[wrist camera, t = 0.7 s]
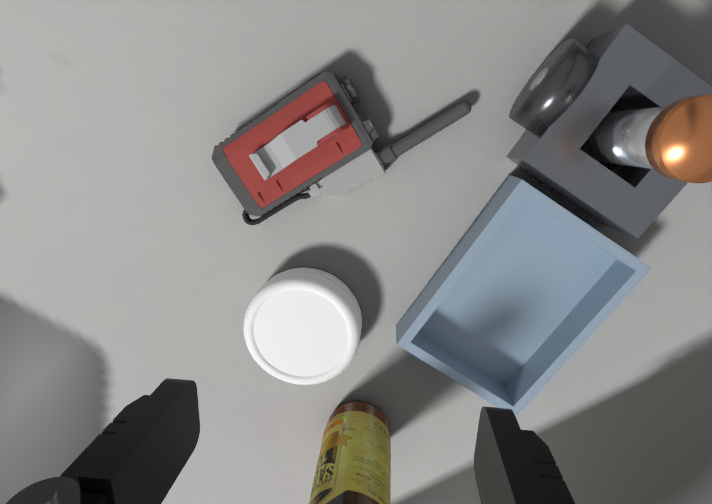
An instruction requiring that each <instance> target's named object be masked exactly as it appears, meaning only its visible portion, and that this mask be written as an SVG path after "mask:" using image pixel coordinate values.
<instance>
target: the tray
mask: <svg viewBox="0 0 712 504" xmlns="http://www.w3.org/2000/svg"><path fill="white" fill-rule="evenodd" d="M651 269H652V268H651V267H650V266H648V265H647V264H645V263H644V262H642V261H641V260H640V259H638V258H637V257H635V256H634V255H632V254H631V253H629V252H628V251H626V250H625V249H623V248H622V247H620V246H619V245H618V244H616V243H615V242H613V241H612V240H610V239H609V238H607V237H606V236H604V235H603V234H601V233H600V232H598V231H597V230H596V229H594V228H593V227H591V226H590V225H588V224H587V223H585V222H584V221H582V220H581V219H579V218H578V217H576V216H575V215H574V214H572V213H571V212H569V211H568V210H566V209H565V208H563V207H562V206H560V205H559V204H557V203H556V202H554V201H553V200H552V199H550V198H549V197H547V196H546V195H544V194H543V193H541V192H540V191H538V190H537V189H535V188H534V187H532V186H531V185H529V184H528V183H527V182H525V181H524V180H522V179H520V178H517V177H514V176H511V175H508V176H507V178H506V179H505V180H504V182H503V183H502V184H501V186H500V187H499V189H498V190H497V191H496V193H495V194H494V195H493V197H492V198H491V199H490V201H489V202H488V203H487V205H486V206H485V207H484V209H483V210H482V211H481V213H480V214H479V215H478V217H477V218H476V219H475V221H474V222H473V223H472V225H471V226H470V227H469V229H468V230H467V231H466V233H465V234H464V235H463V237H462V238H461V239H460V241H459V242H458V243H457V245H456V246H455V247H454V249H453V250H452V251H451V253H450V254H449V256H448V257H447V258H446V260H445V261H444V262H443V264H442V265H441V266H440V268H439V269H438V270H437V272H436V273H435V274H434V276H433V277H432V278H431V280H430V281H429V282H428V284H427V285H426V286H425V288H424V289H423V290H422V292H421V293H420V294H419V296H418V297H417V298H416V300H415V301H414V302H413V304H412V305H411V306H410V308H409V309H408V310H407V312H406V313H405V314H404V316H403V317H402V318H401V320H400V321H399V322H398V324H397V325H396V340H397V345H398V346H400V347H402V348H403V349H405V350H406V351H408V352H410V353H411V354H413V355H414V356H416V357H418V358H419V359H421V360H422V361H424V362H426V363H427V364H429V365H431V366H432V367H434V368H435V369H437V370H439V371H440V372H442V373H443V374H445V375H447V376H448V377H450V378H451V379H453V380H455V381H456V382H458V383H459V384H461V385H463V386H464V387H466V388H468V389H469V390H471V391H472V392H474V393H476V394H477V395H479V396H480V397H482V398H484V399H485V400H487V401H488V402H490V403H492V404H493V405H495V406H496V407H498V408H505V409H512V411H513V412H514V415H515V417H516V416H517V415H518V414H519V413H520V412H521V411H522V410H523V409H524V408H525V407H526V406H527V404H528V403H529V402H530V401H531V400H532V399H533V398H534V397H535V396H536V395H537V394H538V392H539V391H540V390H541V389H542V388H543V387H544V386H545V385H546V384H547V383H548V382H549V380H550V379H551V378H552V377H553V376H554V375H555V374H556V373H557V372H558V371H559V370H560V368H561V367H562V366H563V365H564V364H565V363H566V362H567V361H568V360H569V359H570V358H571V356H572V355H573V354H574V353H575V352H576V351H577V350H578V349H579V348H580V347H581V346H582V344H583V343H584V342H585V341H586V340H587V339H588V338H589V337H590V336H591V335H592V334H593V332H594V331H595V330H596V329H597V328H598V327H599V326H600V325H601V324H602V323H603V322H604V320H605V319H606V318H607V317H608V316H609V315H610V314H611V313H612V312H613V311H614V310H615V308H616V307H617V306H618V305H619V304H620V303H621V302H622V301H623V300H624V299H625V298H626V296H627V295H628V294H629V293H630V292H631V291H632V290H633V289H634V288H635V287H636V286H637V284H638V283H639V282H640V281H641V280H642V279H643V278H644V277H645V276H646V275H647V274H648V272H649V271H650V270H651Z"/></svg>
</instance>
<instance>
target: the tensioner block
mask: <svg viewBox="0 0 712 504" xmlns="http://www.w3.org/2000/svg"><path fill="white" fill-rule="evenodd" d="M708 94H712V86H711V85H709V84H708V83H707V82H705V81H704V80H703V79H701V78H700V77H699V76H697V75H696V74H695V73H693V72H692V71H690V70H689V69H688V68H686V67H685V66H684V65H682V64H681V63H680V62H678V61H677V60H676V59H674V58H673V57H672V56H670V55H669V54H667V53H666V52H665V51H663V50H662V49H661V48H659V47H658V46H657V45H655V44H654V43H653V42H651V41H650V40H649V39H647V38H646V37H644V36H643V35H642V34H640V33H639V32H638V31H636V30H635V29H634V28H632V27H631V26H630V25H628V24H627V23H626V24H624V25H622V26H620V27H618V28H616V29H613V30H611V31H609V32H607V33H605V34H602V35H600V36H598V37H596V38H594V39H593V40H592V41H591V43H590V44H589V45H588V47H587V48H586V47H585V46H583V45H582V44H581V43H579V42H578V41H576V40H575V39H574V38H570V39H568V40H566V41H565V42H563V43H562V44H561V45H560V46H559V47H558V48H556V49H555V50H554V51H553V52H552V53H551V55H550V56H549V57H548V58H547V59H546V60H545V61H544V62H543V63H542V65H541V66H540V67H539V68H538V69H537V71H536V72H535V73H534V74H533V76H532V77H531V78H530V80H529V81H528V82H527V84H526V85H525V86H524V88H523V89H522V91H521V92H520V94H519V96H518V97H517V99H516V101H515V102H514V104H513V106H512V108H511V111H510V114H509V117H510V118H511V119H512V120H514V121H515V122H516V123H518V124H519V125H521V126H522V127H524V128H525V129H527V130H526V131H525V133H524V134H523V135H522V137H521V138H520V139H519V141H518V142H517V143H516V145H515V146H514V148H513V149H512V150H511V152H510V153H509V154H508V156H507V157H508V158H509V159H510V160H512V161H513V162H515V163H516V164H518V165H519V166H521V167H522V168H524V169H525V170H527V171H528V172H529V173H531V174H532V175H534V176H535V177H537V178H538V179H540V180H541V181H543V182H544V183H545V184H547V185H548V186H550V187H551V188H553V189H554V190H556V191H557V192H559V193H560V194H562V195H563V196H564V197H566V198H567V199H569V200H570V201H572V202H573V203H575V204H576V205H578V206H579V207H581V208H582V209H583V210H585V211H586V212H588V213H589V214H591V215H592V216H594V217H595V218H597V219H598V220H600V221H601V222H602V223H604V224H605V225H607V226H609V227H612V228H614V229H616V230H618V231H621V232H623V233H625V234H628V235H630V236H632V237H635V238H637V239H638V238H639V237H640V236H641V235H642V234H643V232H644V231H645V230H646V229H647V228H648V227H649V226H650V225H651V223H652V222H653V221H654V220H655V219H656V218H657V217H658V216H659V214H660V213H661V212H662V211H663V210H664V209H665V208H666V206H667V205H668V204H669V203H670V202H671V201H672V200H673V199H674V197H675V196H676V195H677V194H678V193H679V192H680V191H681V190H682V188H683V187H684V186H685V185H686V184H687V183H688V182H686V181H680V180H674V179H669V178H666V177H664V176H662V175H660V174H659V173H657V172H656V171H655V170H654V169H649V168H642V167H635V166H628V165H621V164H617V165H616V166H615V167H614V169H613V170H612V171H610V170H609V169H608V168H606V167H605V166H603V165H602V164H600V163H599V162H598V161H596V160H595V159H593V158H592V157H590V156H589V155H587V154H586V153H585V152H583V151H582V150H580V148H581V146H582V145H583V144H584V143H585V141H586V140H587V139H588V138H589V136H590V135H591V134H592V132H593V131H594V130H595V129H596V127H597V126H598V125H599V124H600V122H601V121H602V120H603V118H604V117H605V116H606V115H607V113H608V112H609V111H610V109H611V108H612V107H613V106H614V104H616V105H617V106H619V107H620V108H622V109H623V110H634V109H645V108H656V107H667V106H668V105H670V104H671V103H673V102H675V101H677V100H680V99H682V98H686V97H691V96H700V95H708Z"/></svg>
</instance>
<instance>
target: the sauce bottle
mask: <svg viewBox="0 0 712 504" xmlns="http://www.w3.org/2000/svg"><path fill="white" fill-rule="evenodd" d="M390 458H391V454H390V434H389V426H388V422H387V420H386V418H385V417H384V415H383V413H382V412H381V411H380V410H379V409H377V408H376V407H375V406H373V405H371V404H368V403H363V402H348V403H345V404H343V405H341V406H340V407H338V408H337V409H336V410H335V411H334V412H333V414H332V415H331V416H330V418H329V422H328V423H327V426H326V428H325V431H324V436H323V441H322V445H321V450H320V455H319V459H318V464H317V469H316V473H315V477H314V483H313V487H312V492H311V497H310V502H309V504H390Z"/></svg>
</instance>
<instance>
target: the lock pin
mask: <svg viewBox="0 0 712 504" xmlns="http://www.w3.org/2000/svg"><path fill="white" fill-rule="evenodd" d="M580 150H582V151H583V152H585V153H586V154H587V155H589V156H590V157H592V158H593V159H595V160H596V161H599V162H607V163H614V164H621V165H628V166H635V167H642V168H649V169H654V170H655V171H656V172H657V173H659V174H660V175H662V176H664V177H666V178H669V179H674V180H680V181H686V182H692V183H706V182H711V181H712V94H708V95H700V96H691V97H686V98H682V99H680V100H677V101H675V102H673V103H671V104H670V105H668V106H667V107H656V108H645V109H634V110H623V111H613V112H608V113H607V115H606V116H605V117H604V118H603V120H602V121H601V122H600V124H599V125H598V126H597V127H596V129H595V130H594V131H593V132H592V134H591V135H590V136H589V138H588V139H587V140H586V141H585V143H584V144H583V145H582V146H581V148H580Z"/></svg>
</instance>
